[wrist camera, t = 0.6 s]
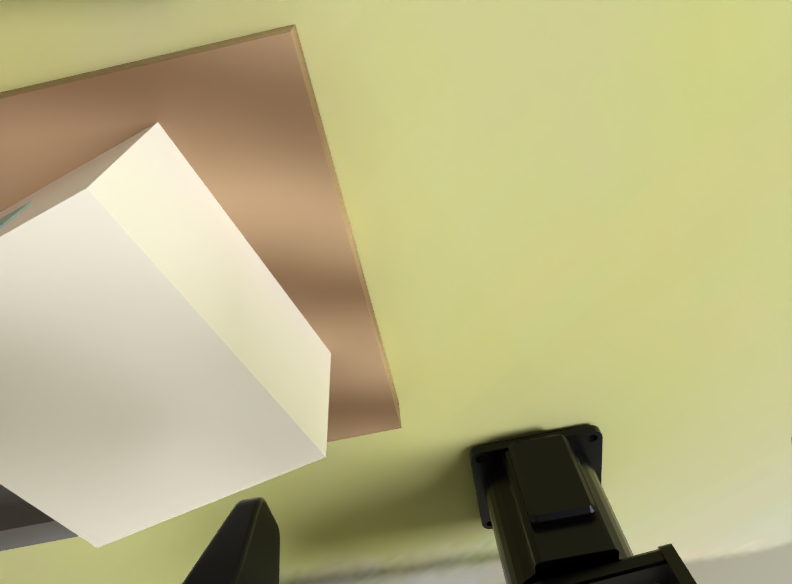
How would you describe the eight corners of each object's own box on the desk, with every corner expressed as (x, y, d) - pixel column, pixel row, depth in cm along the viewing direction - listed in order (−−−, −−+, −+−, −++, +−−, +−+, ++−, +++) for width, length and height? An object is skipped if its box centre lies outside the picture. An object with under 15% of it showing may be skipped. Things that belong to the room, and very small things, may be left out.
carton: (331, 354, 21) (326, 458, 17) (145, 435, 22) (98, 548, 18) (156, 120, 15) (85, 186, 11) (-70, 250, 17) (-205, 348, 13)
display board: (398, 403, 24) (409, 508, 20) (-50, 490, 26) (-137, 608, 21) (295, 24, 16) (272, 57, 11) (-383, 181, 17) (-657, 271, 12)
